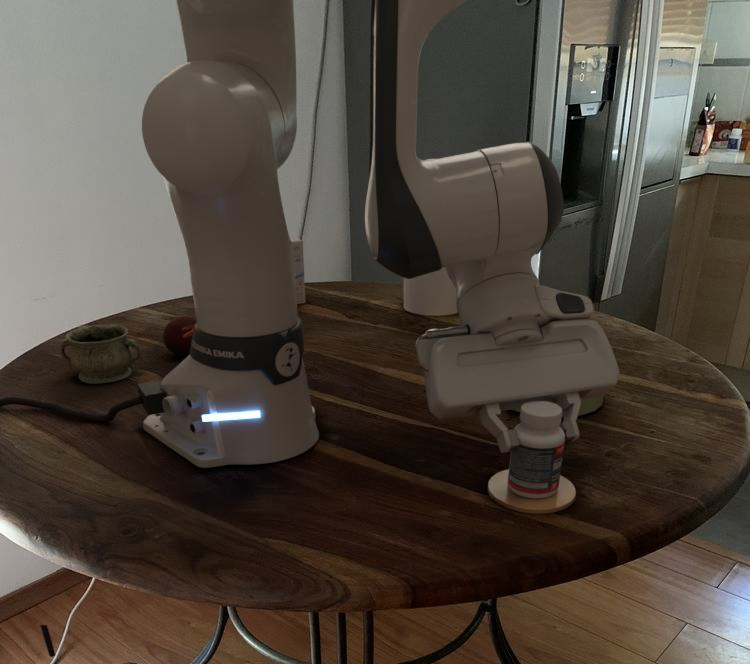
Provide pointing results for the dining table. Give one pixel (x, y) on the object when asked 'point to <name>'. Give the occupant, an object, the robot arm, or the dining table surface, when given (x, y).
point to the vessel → (101, 353)
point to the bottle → (430, 294)
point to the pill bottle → (537, 451)
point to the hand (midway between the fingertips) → (541, 445)
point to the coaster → (530, 505)
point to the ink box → (299, 269)
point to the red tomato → (179, 335)
